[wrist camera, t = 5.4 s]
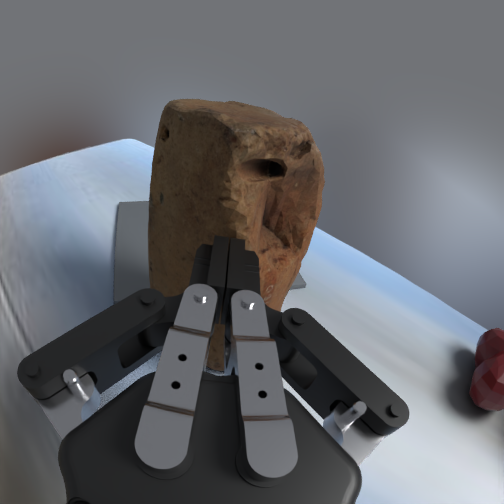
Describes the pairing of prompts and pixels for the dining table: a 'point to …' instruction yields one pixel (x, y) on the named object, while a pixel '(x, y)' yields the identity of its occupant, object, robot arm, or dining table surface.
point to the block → (231, 195)
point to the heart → (489, 371)
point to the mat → (139, 251)
